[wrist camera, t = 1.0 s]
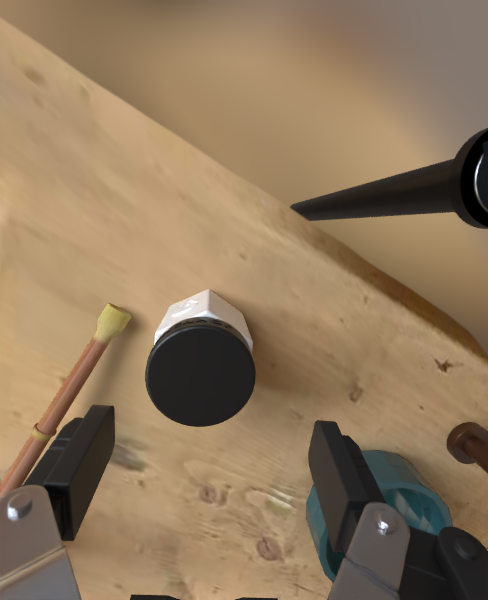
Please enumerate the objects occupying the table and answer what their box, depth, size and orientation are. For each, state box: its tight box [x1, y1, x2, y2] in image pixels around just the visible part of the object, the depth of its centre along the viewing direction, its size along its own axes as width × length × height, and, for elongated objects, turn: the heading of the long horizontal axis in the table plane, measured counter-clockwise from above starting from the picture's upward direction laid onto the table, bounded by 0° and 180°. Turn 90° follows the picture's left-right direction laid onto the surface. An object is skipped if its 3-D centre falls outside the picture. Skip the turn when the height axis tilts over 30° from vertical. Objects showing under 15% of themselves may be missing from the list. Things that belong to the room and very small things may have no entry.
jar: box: [145, 289, 256, 427], centre depth 30 cm, size 9×8×12 cm
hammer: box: [0, 303, 132, 499], centre depth 31 cm, size 6×16×30 cm
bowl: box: [306, 450, 453, 583], centre depth 40 cm, size 16×16×6 cm
